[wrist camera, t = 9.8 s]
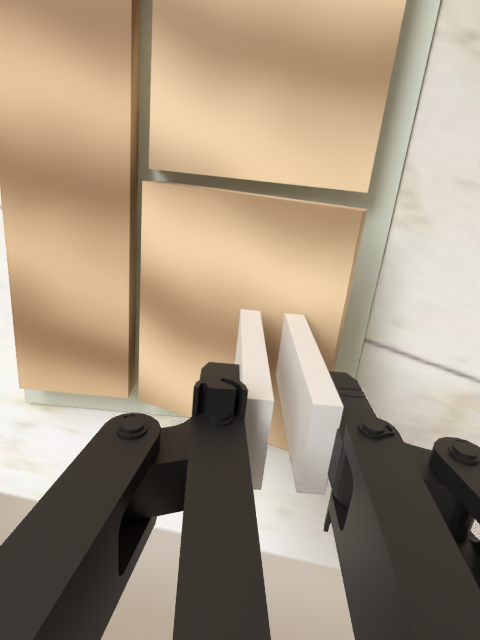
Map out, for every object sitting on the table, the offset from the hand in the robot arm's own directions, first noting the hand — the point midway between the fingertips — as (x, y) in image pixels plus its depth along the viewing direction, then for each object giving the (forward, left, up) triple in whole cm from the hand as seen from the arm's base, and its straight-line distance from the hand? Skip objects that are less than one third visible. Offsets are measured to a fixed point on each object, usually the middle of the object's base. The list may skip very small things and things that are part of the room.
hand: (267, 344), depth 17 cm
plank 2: (0, -1, -3) cm, 3 cm away
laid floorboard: (-6, -9, -5) cm, 12 cm away
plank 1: (-11, -1, -4) cm, 12 cm away
